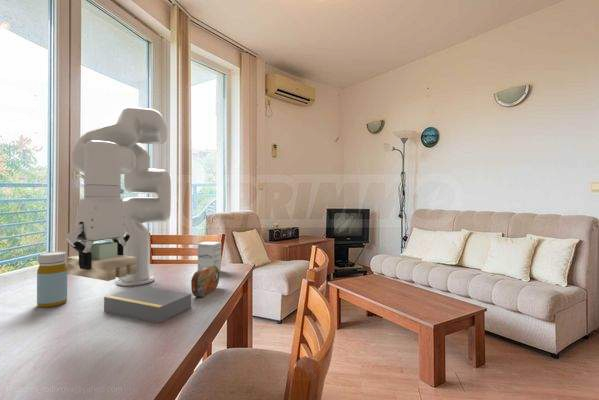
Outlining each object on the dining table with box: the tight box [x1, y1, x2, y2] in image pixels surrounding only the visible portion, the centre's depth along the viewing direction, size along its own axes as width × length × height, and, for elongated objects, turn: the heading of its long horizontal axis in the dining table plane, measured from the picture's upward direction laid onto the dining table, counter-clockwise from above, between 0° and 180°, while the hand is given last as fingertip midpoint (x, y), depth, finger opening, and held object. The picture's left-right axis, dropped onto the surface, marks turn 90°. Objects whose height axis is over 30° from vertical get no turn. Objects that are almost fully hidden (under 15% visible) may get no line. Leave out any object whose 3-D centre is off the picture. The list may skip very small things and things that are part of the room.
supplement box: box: [197, 241, 222, 272], centre depth 132 cm, size 7×7×13 cm
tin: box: [190, 266, 220, 298], centre depth 104 cm, size 15×3×8 cm, turn 168°
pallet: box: [66, 254, 137, 282], centre depth 75 cm, size 14×8×4 cm, turn 69°
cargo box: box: [89, 240, 117, 260], centre depth 75 cm, size 5×4×3 cm
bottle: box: [36, 251, 68, 309], centre depth 91 cm, size 7×7×15 cm
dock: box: [103, 285, 192, 324], centre depth 88 cm, size 20×12×4 cm, turn 69°
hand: (102, 264), depth 75 cm, fingers closed on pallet, 7 cm apart
